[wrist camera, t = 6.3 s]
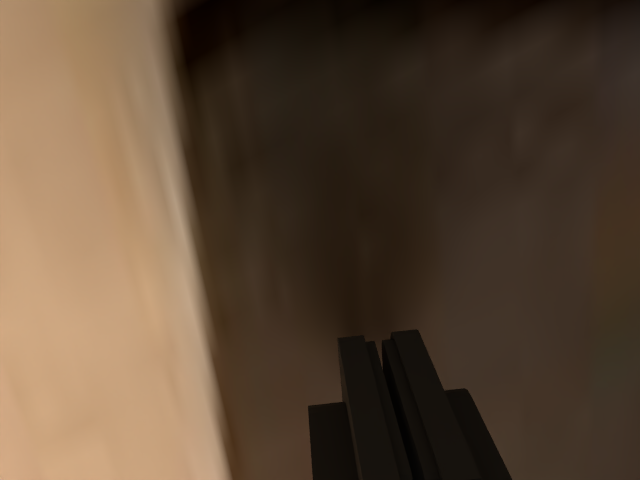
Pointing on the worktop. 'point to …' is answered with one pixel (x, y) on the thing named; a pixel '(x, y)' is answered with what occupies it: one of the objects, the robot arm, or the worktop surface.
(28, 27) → the worktop surface
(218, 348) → the worktop surface
